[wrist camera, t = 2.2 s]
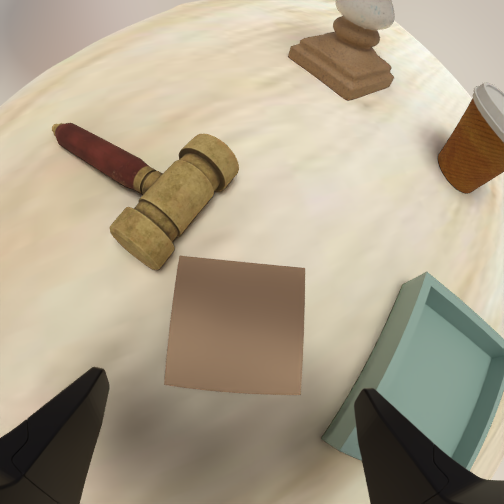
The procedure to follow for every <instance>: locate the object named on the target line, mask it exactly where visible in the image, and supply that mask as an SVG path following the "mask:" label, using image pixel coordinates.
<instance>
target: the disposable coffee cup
mask: <svg viewBox="0 0 504 504" xmlns="http://www.w3.org/2000/svg"><path fill="white" fill-rule="evenodd" d="M438 162H439V166H440V168H441V170H442V172H443V174H444V176H445V177H446V178H447V180H448V181H449V182H450V183H451V184H452V185H453V186H454V187H455V188H456V189H458V190H459V191H461V192H463V193H470V192H472V191H474V190H475V189H477V188H478V187H480V186H482V185H483V184H485V183H487V182H488V181H490V180H492V179H493V178H495V177H496V176H498V175H499V174H501V173H503V172H504V93H503V92H502V91H500V90H499V89H498V88H496V87H495V86H493V85H492V84H490V83H487V82H485V83H483V84H482V85H480V86H476V87H475V88H474V94H473V99H472V100H471V102H470V104H469V106H468V108H467V109H466V111H465V113H464V115H463V116H462V118H461V120H460V121H459V123H458V125H457V126H456V128H455V130H454V131H453V133H452V134H451V136H450V138H449V139H448V141H447V143H446V144H445V146H444V147H443V149H442V151H441V152H440V153H439V155H438Z"/></svg>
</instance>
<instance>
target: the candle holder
mask: <svg viewBox="0 0 504 504" xmlns="http://www.w3.org/2000/svg"><path fill="white" fill-rule="evenodd" d="M336 7H337V9H338V11H339V12H340V13H341V14H342V15H343V16H341V17H339V18H337V19H336V20H335V21H334V23H333V28H334V30H335V32H331V33H327V34H324V35H319V36H313V37H308V38H304V39H302V40H300V44H298V45H294V46H291V48H290V52H289V56H288V57H289V58H290V59H292V60H293V61H294V62H296V63H297V64H298V65H300V66H301V67H303V68H304V69H306V70H307V71H308V72H310V73H311V74H312V75H314V76H315V77H317V78H318V79H319V80H320V81H322V82H323V83H324V84H326V85H327V86H328V87H330V88H331V89H332V90H333V91H335V92H336V93H337V94H339V95H340V96H341V97H343V98H344V99H346V100H352V99H356V98H359V97H362V96H364V95H367V94H370V93H373V92H376V91H379V90H382V89H385V88H387V87H389V86H390V84H391V82H392V81H393V79H394V76H393V75H392V74H391V73H390V70H391V66H390V65H389V64H388V63H387V62H386V61H384V60H383V59H382V58H380V57H379V56H378V55H377V54H376V52H375V51H374V49H373V48H372V47H373V46H376V45H377V44H378V43H379V41H380V36H379V33H378V31H377V30H383V29H386V28H389V27H390V26H391V25H392V24H393V22H394V9H393V5H392V1H391V0H336Z"/></svg>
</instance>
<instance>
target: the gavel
mask: <svg viewBox="0 0 504 504" xmlns="http://www.w3.org/2000/svg"><path fill="white" fill-rule="evenodd" d="M52 131H53V132H54V135H55V136H56V138H57V141H58V143H59V144H60V145H61V146H62V147H64V148H65V149H67V150H69V151H70V152H72V153H73V154H75V155H76V156H78V157H79V158H81V159H83V160H84V161H86V162H87V163H89V164H90V165H92V166H94V167H95V168H97V169H98V170H100V171H101V172H103V173H105V174H106V175H108V176H109V177H111V178H112V179H114V180H116V181H117V182H119V183H120V184H122V185H123V186H125V187H128V188H131V189H134V190H136V191H138V192H140V193H141V194H143V196H142V197H141V198H140V199H139V203H138V205H137V206H136V207H135V208H134V209H133V208H130V207H126V208H125V209H124V211H123V212H122V213H121V214H120V215H119V216H118V218H117V219H116V220H115V221H114V222H113V223H112V225H111V226H110V232H111V234H112V235H113V237H114V238H115V239H116V240H117V241H118V242H119V243H120V244H121V245H122V246H123V247H124V248H125V249H126V250H127V251H128V252H129V253H131V254H132V255H133V256H134V257H136V258H137V259H138V260H140V261H141V262H142V263H144V264H145V265H146V266H148V267H149V268H151V269H154V270H159V269H160V268H161V266H162V265H163V264H164V263H165V261H166V260H167V259H168V257H169V256H170V255H171V254H172V252H173V251H174V249H175V248H174V245H173V243H172V242H173V240H174V239H175V238H176V237H177V236H180V235H181V234H182V233H183V231H184V230H185V229H186V228H187V226H188V225H189V224H190V223H191V222H192V220H193V219H194V218H195V217H196V215H197V214H198V213H199V212H200V211H201V209H202V208H203V207H204V206H205V205H206V203H207V202H208V201H209V200H210V199H211V198H212V196H213V194H214V191H215V192H219V191H222V190H223V189H225V187H226V186H227V185H228V184H229V183H230V182H231V180H232V179H233V178H234V177H235V176H236V175H237V173H238V170H239V164H238V161H237V159H236V157H235V155H234V153H233V152H232V151H231V149H230V148H229V147H228V146H227V145H226V144H225V143H224V142H222V141H221V140H219V139H218V138H216V137H214V136H211V135H208V134H199V135H197V136H195V137H194V138H193V139H192V140H191V141H190V142H189V143H188V144H187V145H186V146H185V147H184V148H183V149H182V150H181V151H180V152H179V160H178V161H175V162H174V163H173V164H172V165H171V166H170V167H169V168H168V169H167V170H166V171H165V172H164V173H163V174H162V173H161V172H159V171H156V170H154V169H153V168H151V167H149V166H148V165H147V164H146V163H145V162H144V161H142V160H141V159H140V158H138V157H136V156H134V155H132V154H130V153H129V152H127V151H125V150H123V149H121V148H119V147H117V146H115V145H113V144H112V143H110V142H108V141H106V140H104V139H102V138H100V137H98V136H96V135H94V134H92V133H90V132H88V131H87V130H85V129H83V128H81V127H79V126H77V125H75V124H73V123H66V124H62V123H61V124H54V125H53V126H52Z"/></svg>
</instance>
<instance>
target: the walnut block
mask: <svg viewBox="0 0 504 504" xmlns="http://www.w3.org/2000/svg"><path fill="white" fill-rule="evenodd" d="M304 307H305V268H298V267H288V266H277V265H267V264H256V263H246V262H236V261H226V260H216V259H206V258H197V257H187V256H179V262H178V269H177V276H176V282H175V290H174V297H173V305H172V313H171V321H170V330H169V339H168V348H167V359H166V370H165V382H164V385H170V386H177V387H184V388H192V389H200V390H210V391H220V392H233V393H248V394H272V395H301V379H302V361H303V338H304Z"/></svg>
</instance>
